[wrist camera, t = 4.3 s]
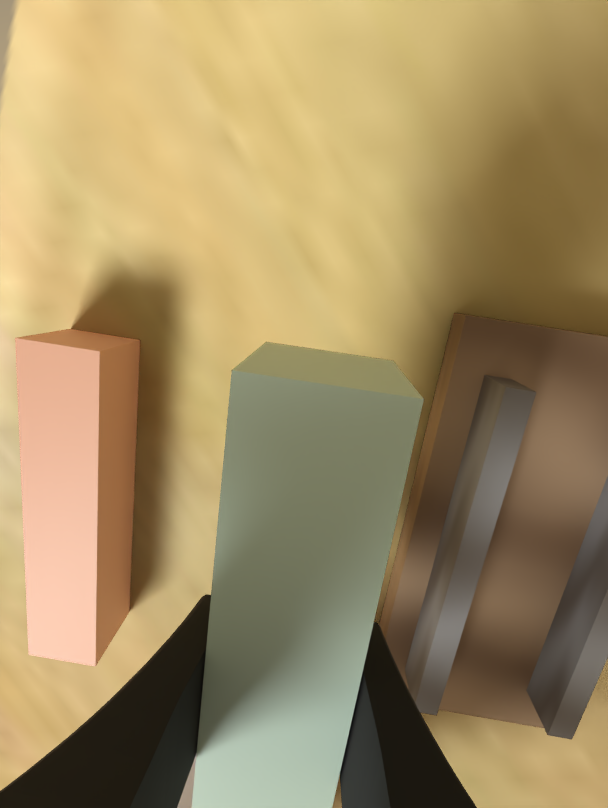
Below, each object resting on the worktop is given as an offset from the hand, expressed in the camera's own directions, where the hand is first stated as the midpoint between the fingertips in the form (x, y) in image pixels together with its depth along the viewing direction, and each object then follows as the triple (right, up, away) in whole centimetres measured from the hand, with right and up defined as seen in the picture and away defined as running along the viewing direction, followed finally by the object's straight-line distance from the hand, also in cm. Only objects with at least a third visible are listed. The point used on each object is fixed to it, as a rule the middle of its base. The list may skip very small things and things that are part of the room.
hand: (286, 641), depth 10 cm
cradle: (+9, 0, +9) cm, 13 cm away
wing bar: (-9, +2, +10) cm, 13 cm away
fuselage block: (0, 0, +1) cm, 2 cm away
